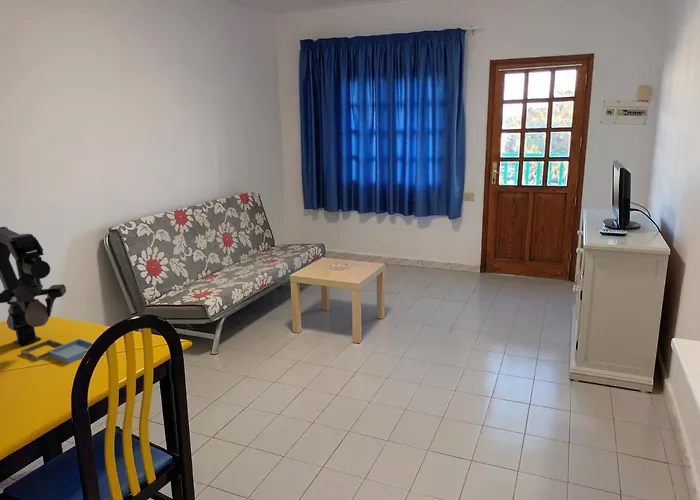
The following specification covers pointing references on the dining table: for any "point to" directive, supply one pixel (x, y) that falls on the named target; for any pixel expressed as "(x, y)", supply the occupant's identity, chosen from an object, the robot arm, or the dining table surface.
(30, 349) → the walnut frame
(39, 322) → the vase
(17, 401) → the dining table surface
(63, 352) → the slate tray
